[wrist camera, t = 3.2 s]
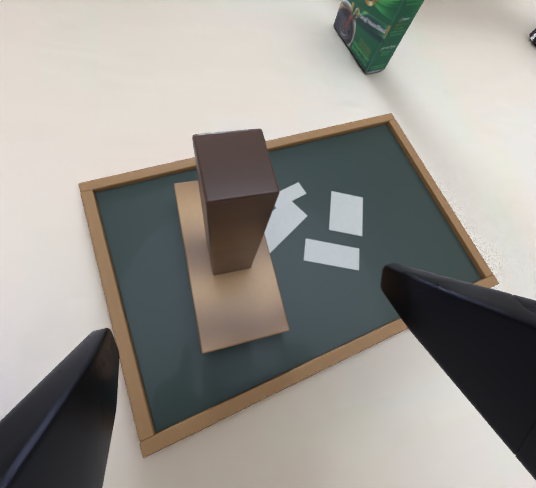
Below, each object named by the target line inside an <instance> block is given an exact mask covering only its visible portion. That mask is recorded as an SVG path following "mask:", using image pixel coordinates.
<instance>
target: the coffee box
mask: <svg viewBox="0 0 536 488" xmlns="http://www.w3.org/2000/svg"><path fill="white" fill-rule="evenodd" d="M423 1H424V0H342V1H341V4H340V7H339V11H338V13H337V16H336V19H335V23H334V27H335V28H336V30H337V31H338V33H339V35H340V36H341V38H342V39H343V40H344V41H345V43H346V44H347V46H348V47H349V49H350V50H351V52H352V53H353V55H354V56H355V58H356V60H357V62H358V63H359V65H361V67H362V68H363V70H364V71H365V73H367V74H368V73H374V72H379V71H381V70H383V69H385V67H386V66H387V64H388V62H389V60H390V58H391V57H392V55H393V53H394V52H395V50H396V48H397V46H398V45H399V43H400V41H401V39H402V38H403V36H404V34H405V33H406V31H407V29H408V27H409V26H410V24H411V22H412V20H413V19H414V17H415V15H416V13H417V12H418V10H419V8H420V6H421V5H422V3H423Z"/></svg>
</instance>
